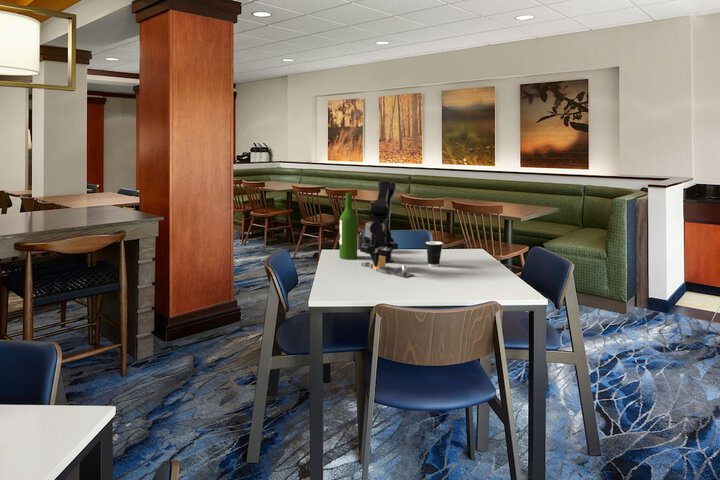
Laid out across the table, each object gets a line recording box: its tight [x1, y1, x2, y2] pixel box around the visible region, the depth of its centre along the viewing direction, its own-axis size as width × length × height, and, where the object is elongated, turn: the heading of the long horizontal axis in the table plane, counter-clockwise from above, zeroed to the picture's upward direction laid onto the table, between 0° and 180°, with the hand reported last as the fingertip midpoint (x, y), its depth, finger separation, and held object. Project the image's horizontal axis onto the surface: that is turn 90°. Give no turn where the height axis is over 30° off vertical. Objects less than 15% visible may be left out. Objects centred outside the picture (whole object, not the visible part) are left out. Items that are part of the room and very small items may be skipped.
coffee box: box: [364, 221, 378, 252], centre depth 276 cm, size 9×6×16 cm
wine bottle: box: [338, 192, 359, 260], centre depth 258 cm, size 9×9×32 cm
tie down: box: [361, 255, 400, 275], centre depth 236 cm, size 20×7×6 cm, turn 41°
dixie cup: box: [425, 240, 444, 268], centre depth 244 cm, size 8×8×11 cm
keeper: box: [394, 264, 415, 279], centre depth 223 cm, size 6×6×5 cm
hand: (379, 265), depth 235 cm, fingers closed on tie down, 4 cm apart
